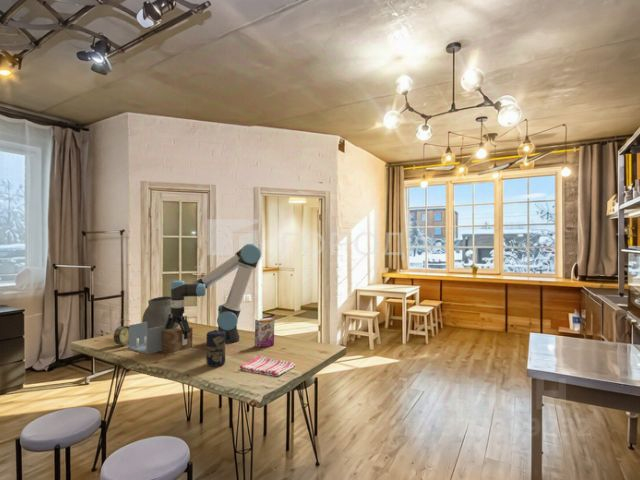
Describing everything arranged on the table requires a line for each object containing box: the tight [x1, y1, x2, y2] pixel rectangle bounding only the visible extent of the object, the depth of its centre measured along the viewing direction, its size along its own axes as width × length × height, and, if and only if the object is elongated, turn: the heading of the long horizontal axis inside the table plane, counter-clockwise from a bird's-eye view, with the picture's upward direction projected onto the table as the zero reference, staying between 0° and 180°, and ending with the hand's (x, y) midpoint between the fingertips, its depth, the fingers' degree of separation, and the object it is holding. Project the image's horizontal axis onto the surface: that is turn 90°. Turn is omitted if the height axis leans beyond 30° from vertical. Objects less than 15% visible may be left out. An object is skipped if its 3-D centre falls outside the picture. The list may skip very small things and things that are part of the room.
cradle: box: [128, 322, 165, 355], centre depth 218 cm, size 19×11×14 cm, turn 57°
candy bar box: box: [254, 317, 275, 349], centre depth 226 cm, size 11×5×16 cm, turn 123°
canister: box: [205, 329, 226, 367], centre depth 192 cm, size 10×10×18 cm
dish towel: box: [239, 355, 296, 377], centre depth 187 cm, size 17×23×4 cm
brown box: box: [161, 326, 193, 355], centre depth 218 cm, size 15×8×12 cm, turn 147°
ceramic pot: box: [141, 295, 180, 330], centre depth 253 cm, size 24×24×25 cm
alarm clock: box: [113, 318, 129, 348], centre depth 225 cm, size 11×5×16 cm, turn 168°
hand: (177, 342), depth 218 cm, fingers open, 13 cm apart
